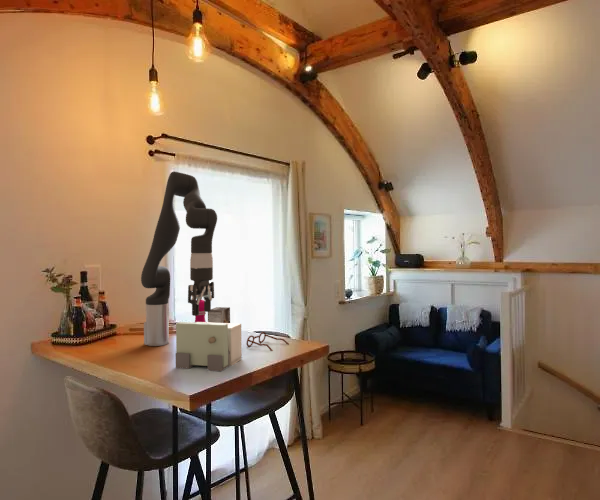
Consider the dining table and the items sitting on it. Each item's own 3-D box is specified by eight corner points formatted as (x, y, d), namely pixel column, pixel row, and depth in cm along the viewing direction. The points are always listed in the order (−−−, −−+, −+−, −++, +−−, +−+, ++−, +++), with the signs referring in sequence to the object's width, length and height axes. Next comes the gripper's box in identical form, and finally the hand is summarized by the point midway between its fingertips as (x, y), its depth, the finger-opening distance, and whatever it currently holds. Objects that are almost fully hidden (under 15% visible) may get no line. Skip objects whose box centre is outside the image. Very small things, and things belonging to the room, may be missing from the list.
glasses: (264, 342, 188) (264, 330, 188) (289, 345, 181) (289, 333, 181) (245, 348, 176) (245, 336, 176) (272, 352, 170) (272, 339, 170)
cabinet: (174, 367, 147) (174, 329, 147) (197, 356, 162) (197, 321, 162) (222, 371, 142) (222, 332, 142) (241, 359, 158) (241, 323, 158)
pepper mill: (188, 342, 185) (187, 296, 185) (198, 339, 192) (197, 294, 192) (202, 344, 183) (202, 297, 183) (211, 340, 189) (211, 295, 189)
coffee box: (216, 344, 181) (216, 306, 181) (230, 345, 180) (230, 307, 180) (207, 349, 172) (207, 310, 172) (222, 350, 171) (222, 310, 171)
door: (173, 364, 147) (173, 324, 147) (180, 361, 151) (180, 321, 151) (222, 368, 142) (221, 326, 142) (228, 364, 147) (227, 323, 147)
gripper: (201, 265, 155) (201, 310, 155) (180, 267, 141) (180, 316, 141) (220, 265, 153) (220, 310, 153) (201, 267, 139) (201, 317, 139)
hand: (201, 313), depth 147 cm, fingers open, 8 cm apart
